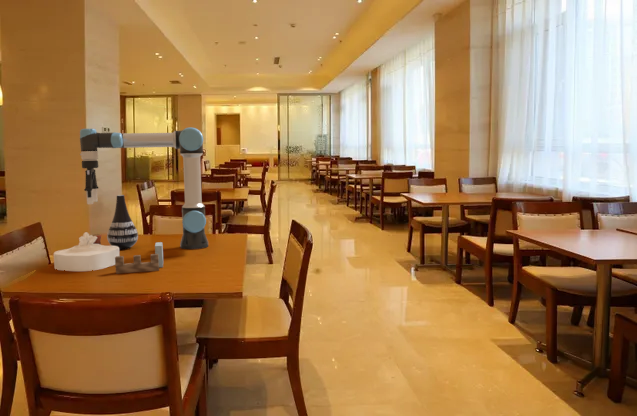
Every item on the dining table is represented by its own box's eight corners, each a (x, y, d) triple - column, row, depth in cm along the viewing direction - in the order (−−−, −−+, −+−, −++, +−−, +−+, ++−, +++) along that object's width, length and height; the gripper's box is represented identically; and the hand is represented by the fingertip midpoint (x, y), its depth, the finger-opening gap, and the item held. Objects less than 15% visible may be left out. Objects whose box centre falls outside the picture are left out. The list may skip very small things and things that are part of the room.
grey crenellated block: (159, 269, 238) (158, 253, 237) (158, 270, 235) (158, 255, 234) (116, 272, 233) (115, 256, 232) (115, 273, 230) (115, 257, 230)
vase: (101, 250, 286) (98, 196, 283) (122, 245, 301) (119, 193, 298) (124, 251, 280) (121, 196, 277) (144, 246, 295) (142, 194, 292)
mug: (91, 252, 279) (90, 233, 278) (106, 253, 278) (105, 233, 277) (76, 257, 268) (75, 237, 267) (92, 257, 266) (90, 237, 265)
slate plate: (156, 263, 250) (155, 242, 249) (163, 262, 251) (162, 242, 250) (155, 267, 241) (154, 246, 240) (162, 267, 242) (161, 245, 240)
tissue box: (127, 261, 257) (125, 228, 255) (90, 273, 233) (87, 237, 232) (86, 258, 265) (84, 227, 263) (46, 269, 242) (43, 235, 240)
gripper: (86, 160, 272) (88, 200, 274) (76, 160, 248) (79, 205, 250) (101, 159, 274) (104, 200, 276) (93, 160, 250) (96, 204, 252)
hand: (92, 202), depth 263 cm, fingers open, 13 cm apart
